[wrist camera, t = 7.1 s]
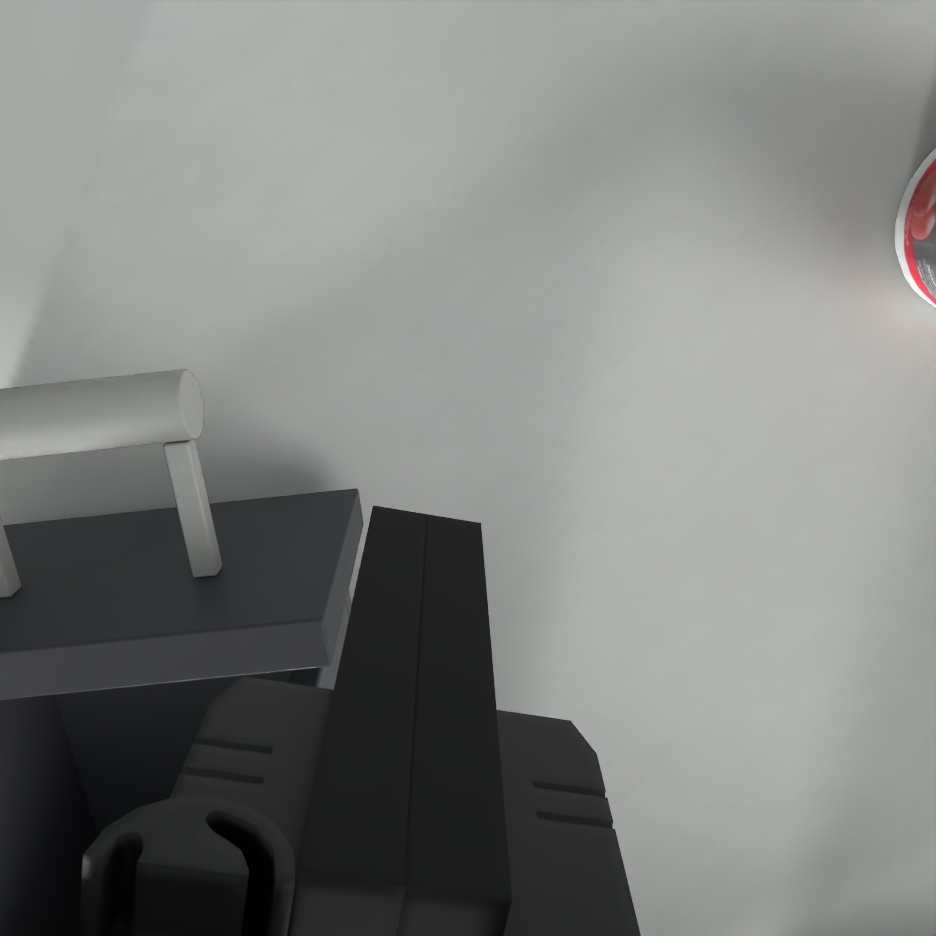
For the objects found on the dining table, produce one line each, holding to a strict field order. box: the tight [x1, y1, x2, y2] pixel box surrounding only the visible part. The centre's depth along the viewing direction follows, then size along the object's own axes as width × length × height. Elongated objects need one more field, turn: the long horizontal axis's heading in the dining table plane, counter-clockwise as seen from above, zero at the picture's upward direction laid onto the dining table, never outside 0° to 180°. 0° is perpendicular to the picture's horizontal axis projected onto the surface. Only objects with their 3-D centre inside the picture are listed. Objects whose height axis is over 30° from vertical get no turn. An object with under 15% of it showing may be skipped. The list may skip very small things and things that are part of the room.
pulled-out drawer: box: [0, 369, 363, 936], centre depth 24 cm, size 18×11×8 cm, turn 6°
